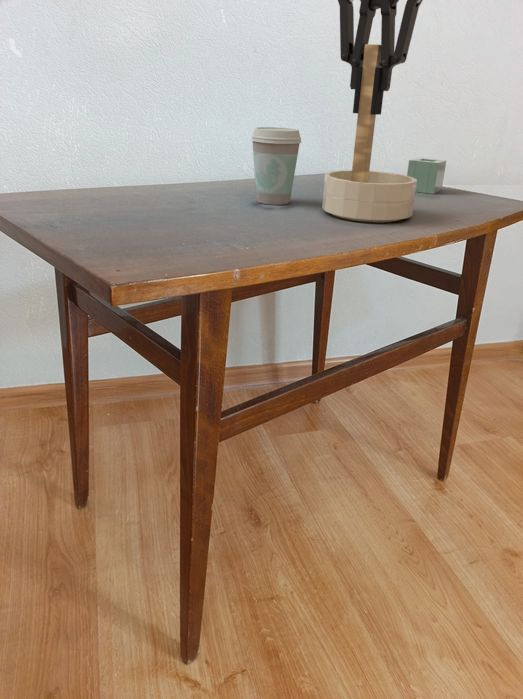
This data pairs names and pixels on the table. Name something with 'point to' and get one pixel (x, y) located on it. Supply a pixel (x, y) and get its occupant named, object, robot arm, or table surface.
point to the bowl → (369, 196)
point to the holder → (427, 174)
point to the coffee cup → (275, 163)
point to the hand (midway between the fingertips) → (366, 113)
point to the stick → (365, 115)
